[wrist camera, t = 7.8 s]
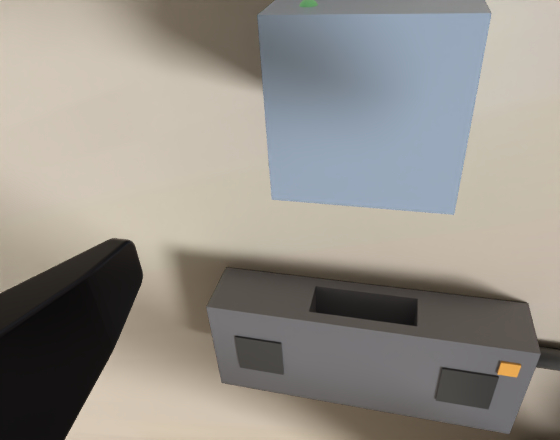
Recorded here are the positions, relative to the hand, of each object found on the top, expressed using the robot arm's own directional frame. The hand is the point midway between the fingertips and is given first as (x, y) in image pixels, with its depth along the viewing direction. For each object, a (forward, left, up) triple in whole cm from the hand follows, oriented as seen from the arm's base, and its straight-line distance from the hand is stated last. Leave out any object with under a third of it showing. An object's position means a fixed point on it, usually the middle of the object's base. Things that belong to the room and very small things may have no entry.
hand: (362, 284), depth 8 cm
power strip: (-14, -3, -12) cm, 18 cm away
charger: (0, +1, -12) cm, 12 cm away
